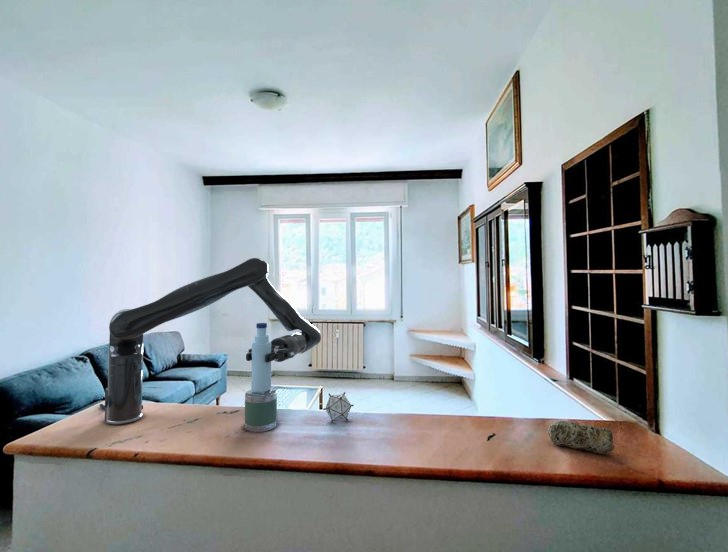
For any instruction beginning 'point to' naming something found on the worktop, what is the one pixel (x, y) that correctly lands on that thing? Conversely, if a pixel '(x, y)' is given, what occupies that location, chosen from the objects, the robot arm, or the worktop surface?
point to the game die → (338, 407)
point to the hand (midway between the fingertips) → (256, 358)
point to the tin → (260, 410)
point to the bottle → (261, 361)
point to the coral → (581, 437)
